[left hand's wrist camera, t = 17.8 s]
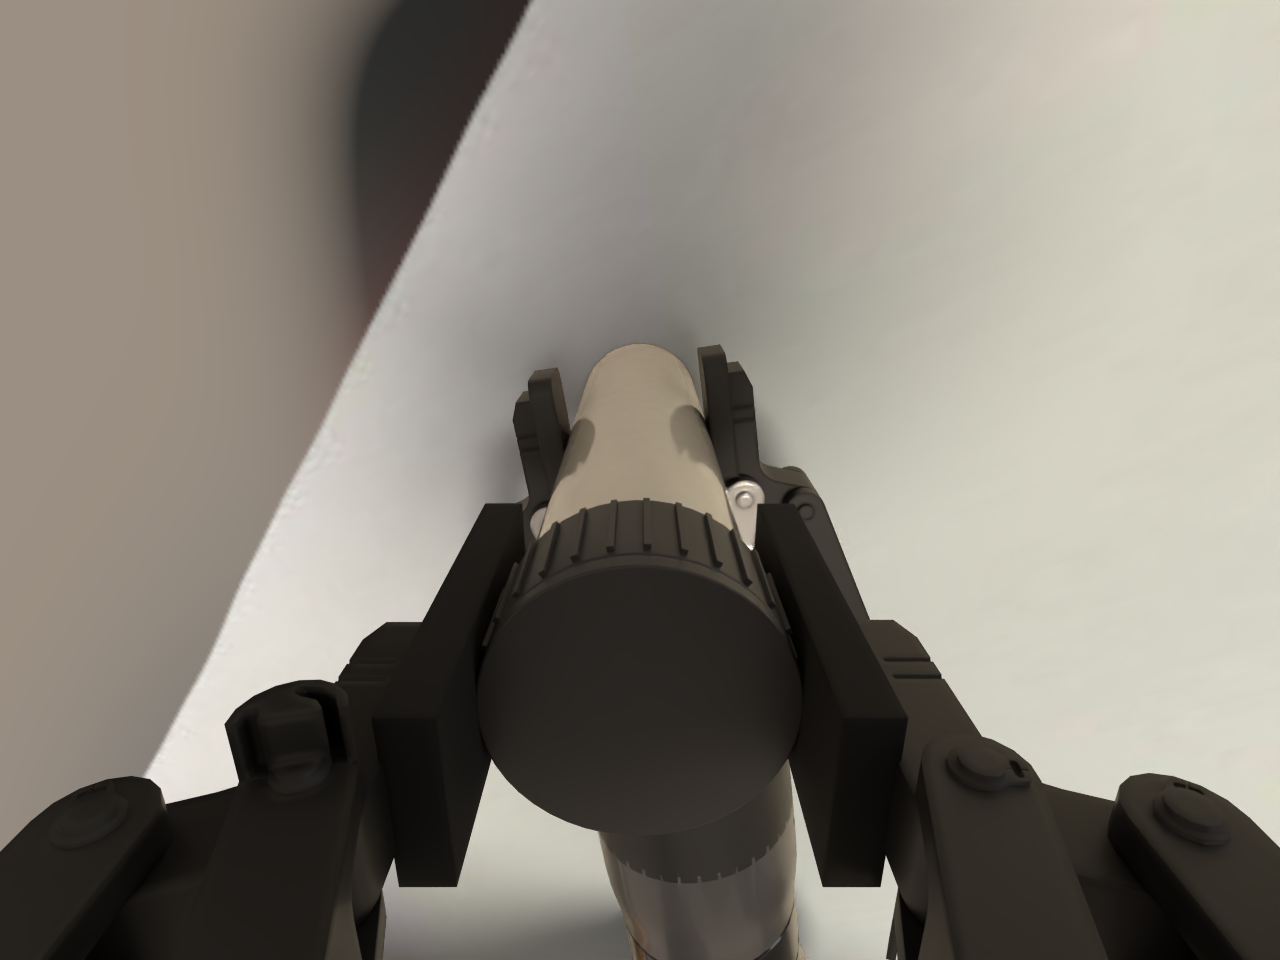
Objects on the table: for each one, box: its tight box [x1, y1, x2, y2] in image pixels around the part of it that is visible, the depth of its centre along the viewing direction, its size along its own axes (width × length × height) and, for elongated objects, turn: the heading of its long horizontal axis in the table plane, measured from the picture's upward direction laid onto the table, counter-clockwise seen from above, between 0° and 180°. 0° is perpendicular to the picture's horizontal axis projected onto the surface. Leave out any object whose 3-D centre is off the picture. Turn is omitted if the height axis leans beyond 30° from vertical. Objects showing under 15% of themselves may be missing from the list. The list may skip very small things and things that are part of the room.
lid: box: [476, 498, 804, 836], centre depth 11 cm, size 5×5×2 cm
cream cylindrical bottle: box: [537, 344, 743, 541], centre depth 19 cm, size 4×4×18 cm
